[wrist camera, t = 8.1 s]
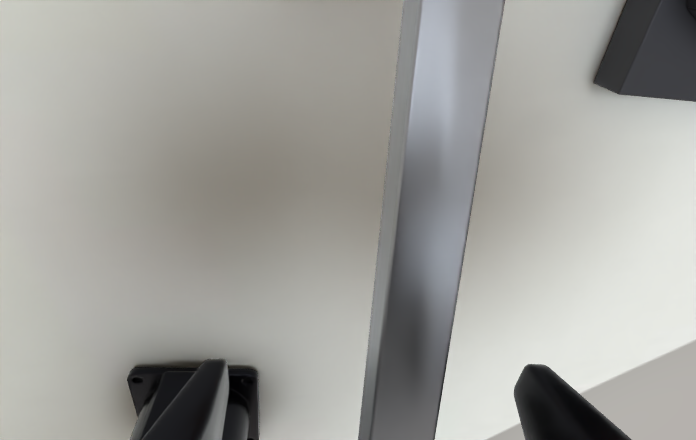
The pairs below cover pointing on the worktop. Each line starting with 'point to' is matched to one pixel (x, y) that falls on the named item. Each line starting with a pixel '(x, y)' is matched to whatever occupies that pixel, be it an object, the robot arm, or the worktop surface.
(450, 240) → the lever
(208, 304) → the worktop surface
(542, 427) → the robot arm
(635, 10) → the control block
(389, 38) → the worktop surface
